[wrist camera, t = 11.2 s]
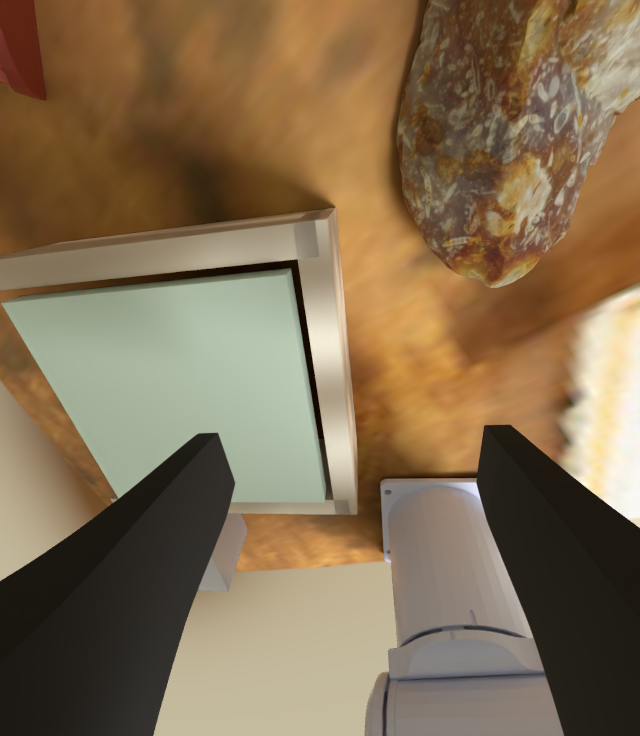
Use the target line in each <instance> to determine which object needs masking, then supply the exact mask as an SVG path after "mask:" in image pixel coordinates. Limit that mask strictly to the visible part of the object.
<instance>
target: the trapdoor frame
mask: <svg viewBox="0 0 640 736" xmlns="http://www.w3.org/2000/svg"><path fill="white" fill-rule="evenodd" d="M295 259H298V266H299V272H300V279H301V286H302V292H303V299H304V306H305V312H306V319H307V326H308V332H309V339H310V346H311V352H312V359H313V366H314V372H315V379H316V386H317V392H318V399H319V406H320V412H321V419H322V426H323V432H324V438H321V439H319V445H320V451H321V457H322V464H323V470H324V476H325V482H326V495H325V503H293V502H231V503H230V507H229V510H228V513H246V514H339V515H357V491H358V447H357V436H356V425H355V413H354V402H353V391H352V380H351V369H350V358H349V346H348V335H347V324H346V313H345V302H344V291H343V280H342V268H341V257H340V246H339V235H338V224H337V213H336V207H335V208H327V209H319V210H311V211H303V212H295V213H288V214H280V215H272V216H264V217H256V218H248V219H240V220H233V221H225V222H217V223H209V224H201V225H193V226H185V227H178V228H170V229H162V230H154V231H146V232H138V233H130V234H123V235H115V236H107V237H99V238H91V239H83V240H75V241H68V242H60V243H55V244H51V245H46V246H42V247H37V248H33V249H28V250H24V251H19V252H15V253H10V254H6V255H1V256H0V291H2V290H11V289H21V288H30V287H39V286H49V285H58V284H68V283H77V282H87V281H96V280H106V279H115V278H125V277H134V276H143V275H153V274H162V273H172V272H181V271H191V270H200V269H210V268H219V267H229V266H238V265H247V264H257V263H266V262H276V261H285V260H295ZM117 499H119V498H118V497H117V495H116V493H115V494H114V495H113V496H112V498H111V501H112V502H113V503H114V502H115V501H116V500H117Z"/></svg>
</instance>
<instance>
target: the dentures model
mask: <svg viewBox="0 0 640 736" xmlns="http://www.w3.org/2000/svg"><path fill="white" fill-rule="evenodd" d="M0 82H1V83H4V84H8V85H10V86H11V87H12V88H13V90H14V91H16V92H18V93H21V94H24V95H28V96H31V97H35V98H38V99H42V100H46V93H45V85H44V78H43V70H42V62H41V55H40V47H39V39H38V31H37V24H36V16H35V8H34V0H0Z"/></svg>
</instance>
